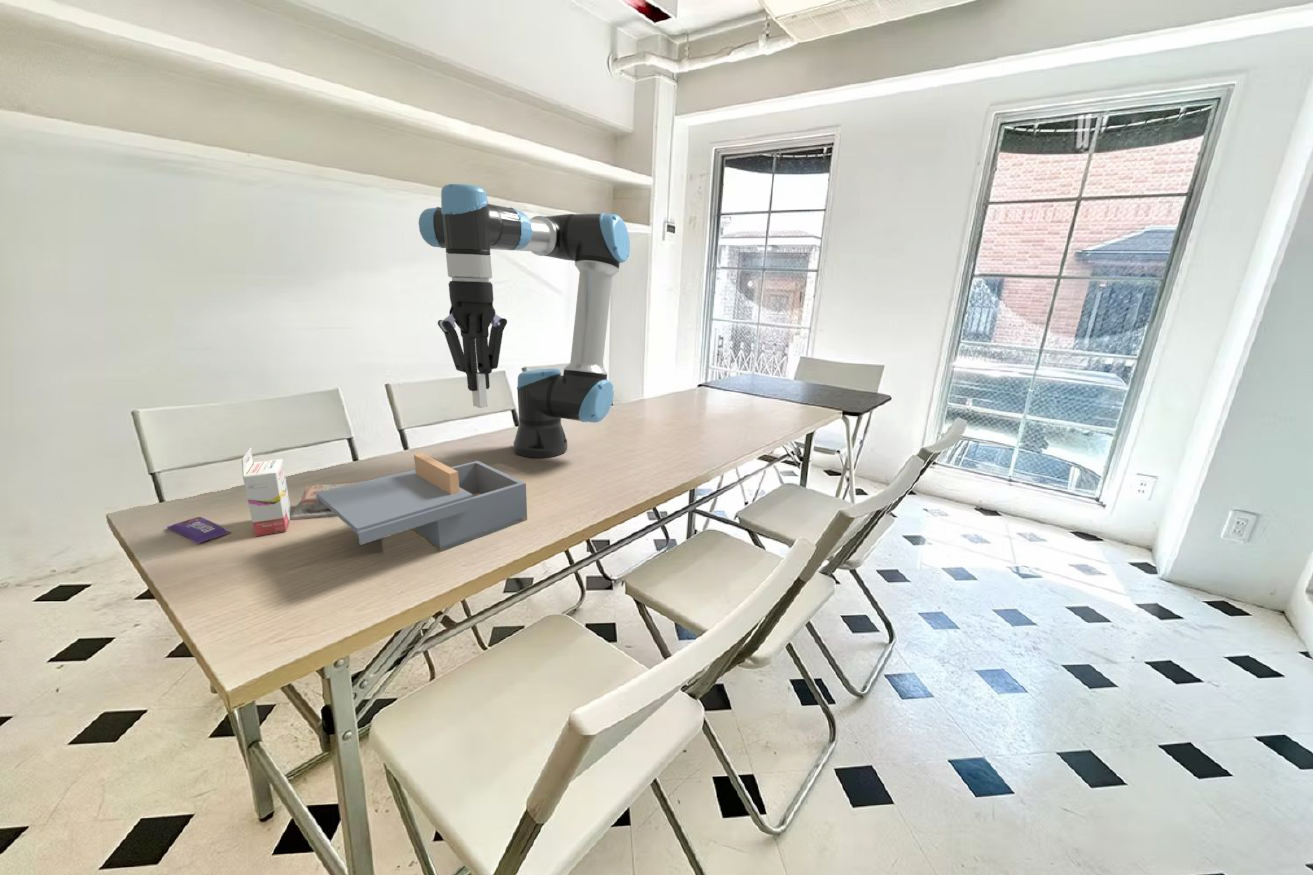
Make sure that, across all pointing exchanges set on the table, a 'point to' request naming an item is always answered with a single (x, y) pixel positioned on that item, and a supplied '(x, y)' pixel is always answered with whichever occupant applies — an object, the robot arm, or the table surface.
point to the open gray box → (479, 507)
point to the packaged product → (314, 503)
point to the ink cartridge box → (266, 494)
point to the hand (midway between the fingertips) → (480, 406)
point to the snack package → (198, 529)
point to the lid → (399, 500)
